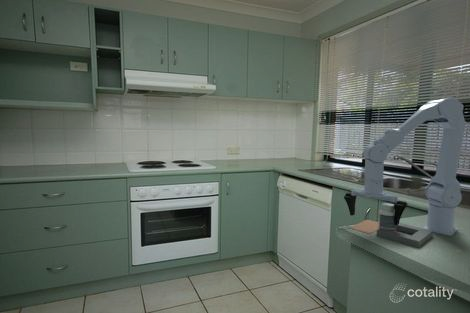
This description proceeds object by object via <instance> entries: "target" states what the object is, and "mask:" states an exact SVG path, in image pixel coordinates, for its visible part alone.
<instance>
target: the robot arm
mask: <svg viewBox="0 0 470 313" xmlns="http://www.w3.org/2000/svg"><path fill="white" fill-rule="evenodd" d="M464 107H465V106H464V104H462V103H461V101H459V100H458V99H457V98H455V97H446V98H441V99H432V100H428V102H426V103H425V104H423V105H422V106H420V107H419V108H418V109H417V110H416V112H414V113H413V114H412V115H411V116H409V118H407V120H405V121H404V122H403V123H402V124H401V125H400V126H399V127H397V128H390V129H386V130H385V131H384V132H383V133H384V134H383V135H382V136H381V137H379V138H377V139H374V140H373V141H372V143H373V144H369V145H366V146H365V148H364V150H363V152H362V154H361V155H362V157H363V158H364V162H365V163H364V164H365V165H364V184H363V185H364V187H363V188H364V190H361V189H351V192H347V193H345V195H344V196H343V199H344V201H345V203H346V205H347V207H348V210H349V215H350V216H355V213H356V202H357V201H356V200H357V197H361V198H367V199H375V200H380V201H381V200H382V201H388V202H391V203H394V204H393V205H394V211H395V218H394V225H398V224H399V223H400V220H401V218H402V215H403V213H404V211H405V209H406V208H407V207H408V203H407V201H402V200H398V198H399V197H398V195H394V194H390V193H386V192H384V172H385V171H384V170H385V168H384V167H385V165H384V163H385V161H386V160H387V159H388V155H389V154H390V153H391V152H393V151H394V150H395V149H396V148H398V147H399V146H400V145H402V143H404V142H405V138H406V136H408V135H409V134H410V133H411V132H412V131H414V130H416V128H418V127H419V126H421V125H422V124H424V123H425V122H427V121H434V122H436V123H437V124H438V125H439V126H440V127H441V128H442V129H443V133H442V137H441V143H440V149H439V154H438V160H437V165H436V172H435V175H433V176H432V177H431V178H430V179H429V180H430V181H429V184H428V185H426V187H425V196H426V197H427V198H428V207H427V208H428V210H427V222H426V225H425V226H424V227H422V228H423V229H427V230H431V231H433V233H437V234H442V235H444V236H445V235H446V236H450V237H451V236H453V235H454V234H455V233H456V232H457V231H458V228H457V227H455V224H456V223H455V222H456V208H457V206H458V205H460V203H461V202H462V199H463V195H462V193H461V183H460V182H459V181H458V179H457V172H458V168H459V162H460V159H461V157H460V156H461V152H462V147H463V142H464V136H465V131H466V126H467V124H466V120H465V117H464V113H463V112H464Z"/></svg>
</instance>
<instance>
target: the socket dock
mask: <svg viewBox="0 0 470 313" xmlns="http://www.w3.org/2000/svg"><path fill="white" fill-rule="evenodd" d="M401 232H402V233H401ZM405 233H407V234H405ZM409 234H410V235H409ZM433 234H434V232H433V231H431V230H427V229H423V227H418V226H415V225H411V224H410V225H409V224H405V223H400V222H399V224H398V225H396V232H394V231H390V230H386V229H382V228H380V229H378V230H376V236H377V237H380V238H384V239H387V240H390V241H394V242H398V243H402V244H404V245H405V244H406V245H409V246H412V247H416V248H420V247H421V246H422V245H424V244H425V243H426V242H428V240H430V239H431V238H432V237H433V236H434V235H433Z"/></svg>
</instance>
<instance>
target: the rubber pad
mask: <svg viewBox="0 0 470 313" xmlns="http://www.w3.org/2000/svg"><path fill="white" fill-rule="evenodd" d="M378 226H379V221H374V220H370V219H365V220H363V221H361V222H359V223H357V224H354V225H352V226H350V227H349V229H351V230H355V231H358V232H361V233H366V234H369V235H371V234H372V233H374V232H377V230H378Z"/></svg>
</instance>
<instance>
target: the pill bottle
mask: <svg viewBox="0 0 470 313" xmlns="http://www.w3.org/2000/svg"><path fill="white" fill-rule="evenodd" d="M380 207H381V209H380V210H379V212H378V222H379V226H378V229H380V228H382V229H386V230H390V231H394V232H397V230H396V225H394V218H395V211H394V204H393V203H387V202H386V203H385V202H384V203H381V205H380Z"/></svg>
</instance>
